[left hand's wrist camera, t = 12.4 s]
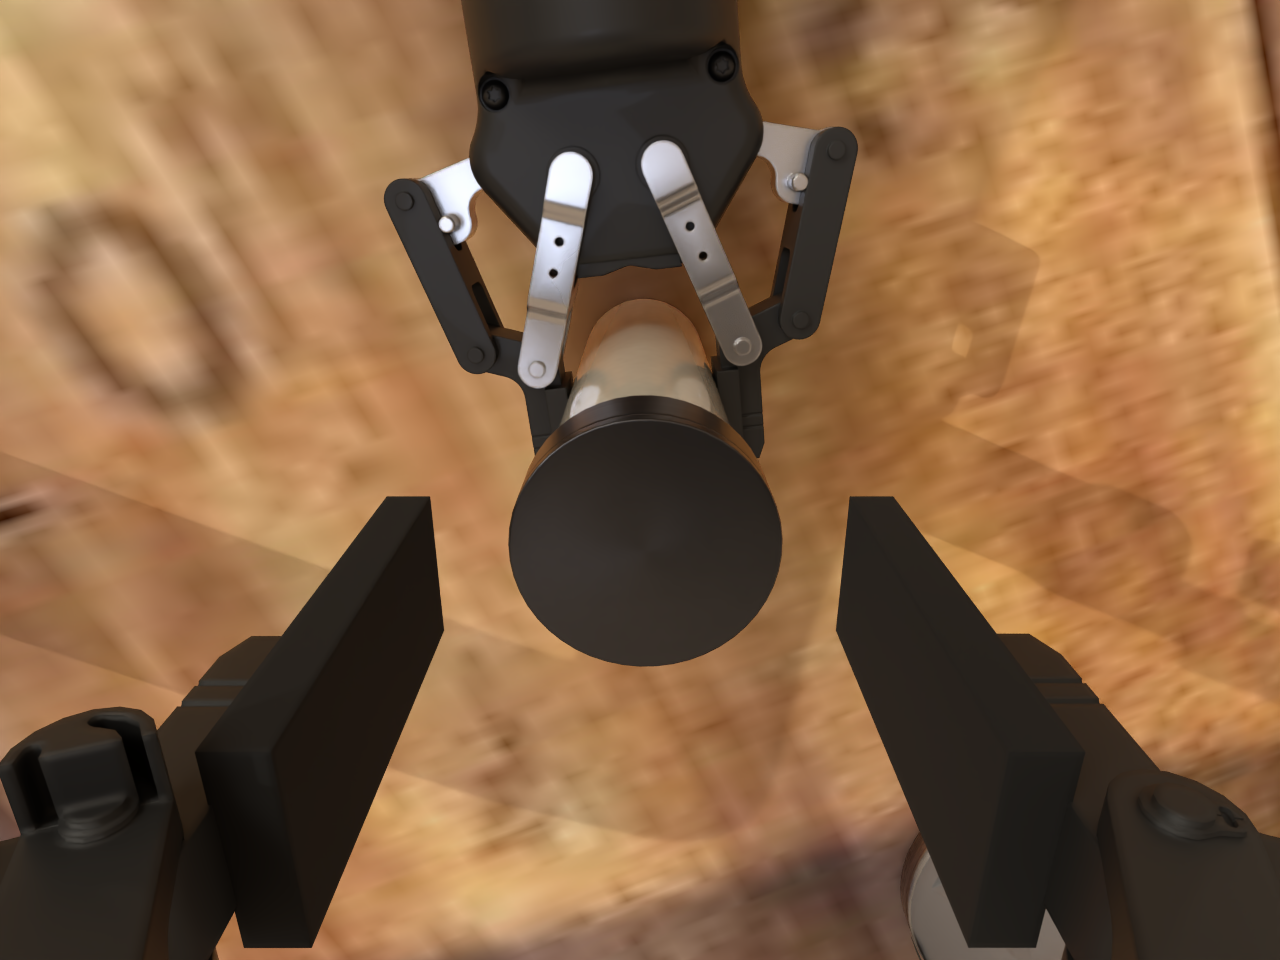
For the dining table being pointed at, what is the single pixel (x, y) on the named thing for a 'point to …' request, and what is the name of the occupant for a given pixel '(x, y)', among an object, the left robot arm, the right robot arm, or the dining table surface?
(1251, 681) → the dining table surface
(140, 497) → the dining table surface
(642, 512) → the lid
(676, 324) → the cream cylindrical bottle
